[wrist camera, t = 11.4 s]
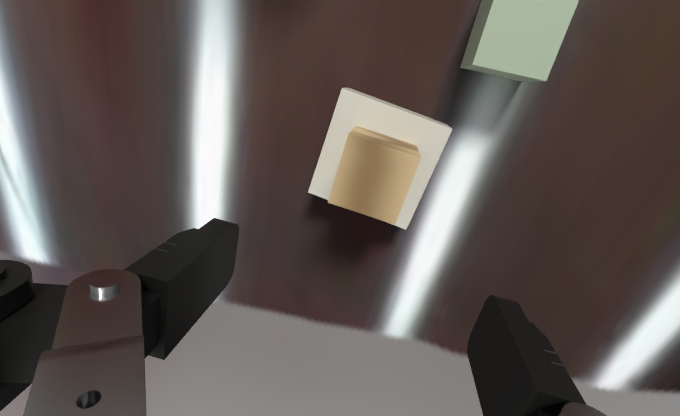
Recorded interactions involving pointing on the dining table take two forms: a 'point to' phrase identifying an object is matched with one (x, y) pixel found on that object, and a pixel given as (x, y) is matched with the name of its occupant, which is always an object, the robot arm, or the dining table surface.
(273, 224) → the dining table surface
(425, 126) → the cream block
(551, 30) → the sage cube
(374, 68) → the dining table surface
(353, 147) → the oak cube
